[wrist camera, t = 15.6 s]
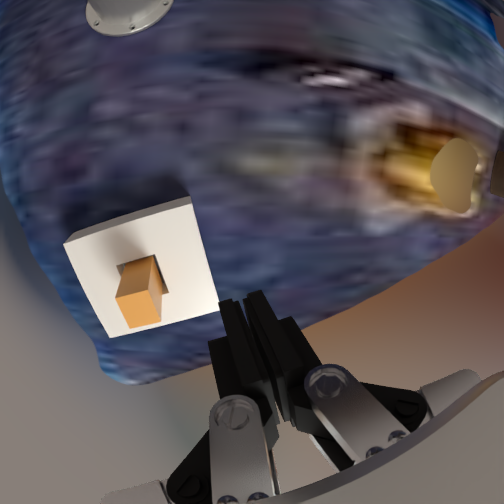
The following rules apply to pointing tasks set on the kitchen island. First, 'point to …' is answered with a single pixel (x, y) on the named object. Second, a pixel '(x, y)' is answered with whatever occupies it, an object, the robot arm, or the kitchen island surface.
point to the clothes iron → (498, 176)
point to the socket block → (141, 246)
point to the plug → (140, 293)
